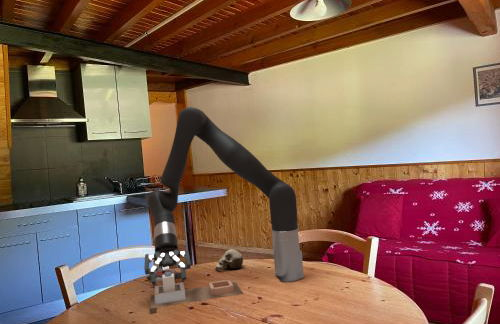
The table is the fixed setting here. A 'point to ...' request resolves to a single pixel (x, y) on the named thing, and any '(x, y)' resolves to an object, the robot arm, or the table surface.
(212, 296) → the panel
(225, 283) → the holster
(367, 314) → the table surface
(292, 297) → the table surface
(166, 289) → the plug
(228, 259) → the skull
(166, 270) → the walkie-talkie
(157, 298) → the frame
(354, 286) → the table surface
